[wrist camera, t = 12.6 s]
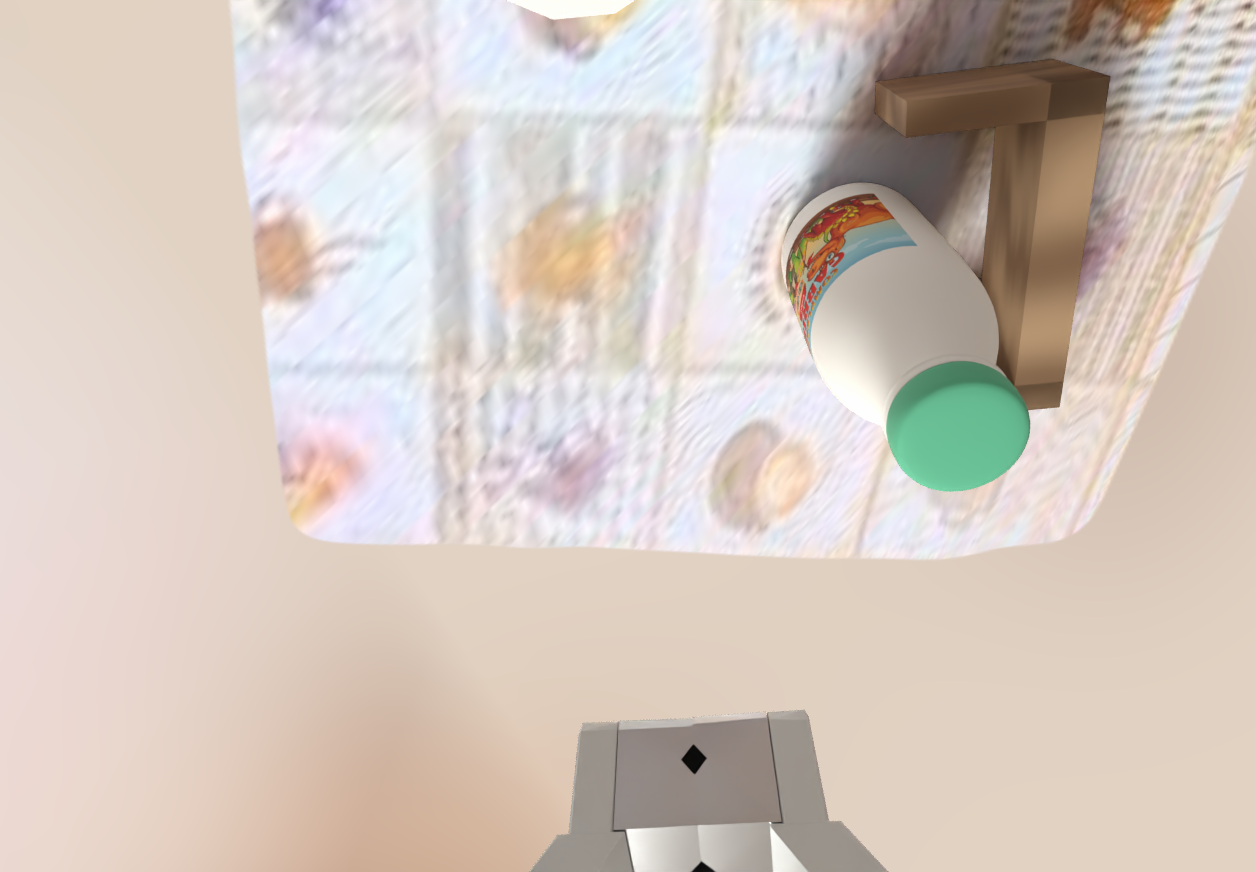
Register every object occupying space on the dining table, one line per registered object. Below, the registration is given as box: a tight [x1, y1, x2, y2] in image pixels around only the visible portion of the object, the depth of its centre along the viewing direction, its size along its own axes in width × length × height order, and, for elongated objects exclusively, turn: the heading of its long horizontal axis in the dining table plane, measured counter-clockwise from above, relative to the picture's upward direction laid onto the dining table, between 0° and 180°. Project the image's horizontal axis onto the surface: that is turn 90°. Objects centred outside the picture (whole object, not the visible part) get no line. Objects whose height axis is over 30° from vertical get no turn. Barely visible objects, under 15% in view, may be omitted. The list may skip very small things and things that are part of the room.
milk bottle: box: [781, 183, 1030, 491], centre depth 37 cm, size 8×8×20 cm
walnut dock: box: [875, 59, 1110, 410], centre depth 42 cm, size 16×8×6 cm, turn 7°
